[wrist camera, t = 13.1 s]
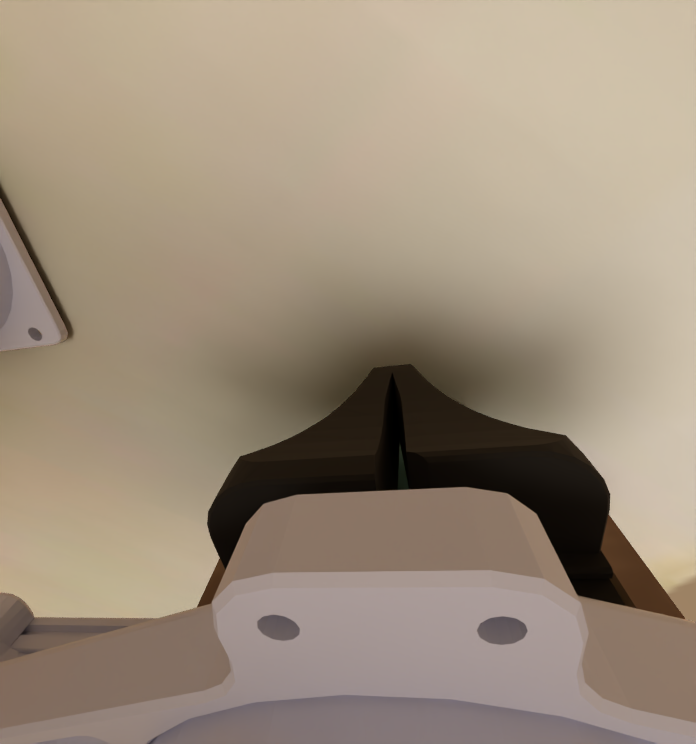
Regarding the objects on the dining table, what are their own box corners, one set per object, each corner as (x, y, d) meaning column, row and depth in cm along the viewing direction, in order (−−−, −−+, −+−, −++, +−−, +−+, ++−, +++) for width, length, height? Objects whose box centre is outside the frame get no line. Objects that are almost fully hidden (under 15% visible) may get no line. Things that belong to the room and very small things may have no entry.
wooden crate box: (296, 619, 20) (260, 790, 14) (252, 488, 16) (175, 653, 10) (553, 621, 18) (636, 822, 12) (578, 473, 14) (721, 668, 8)
